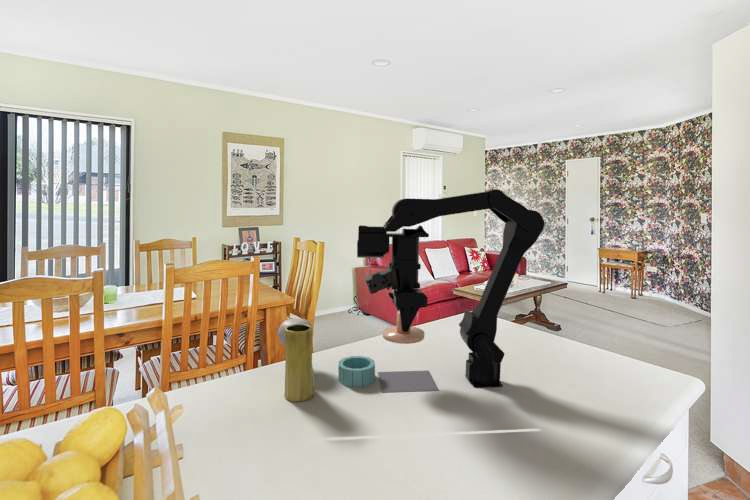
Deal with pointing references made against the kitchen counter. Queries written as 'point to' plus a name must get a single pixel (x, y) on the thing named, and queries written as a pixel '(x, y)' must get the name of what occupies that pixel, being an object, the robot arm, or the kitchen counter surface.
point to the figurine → (287, 323)
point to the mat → (406, 381)
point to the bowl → (356, 371)
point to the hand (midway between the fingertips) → (403, 329)
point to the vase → (298, 363)
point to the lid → (403, 333)
